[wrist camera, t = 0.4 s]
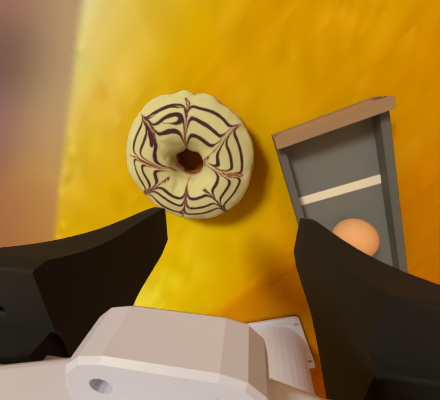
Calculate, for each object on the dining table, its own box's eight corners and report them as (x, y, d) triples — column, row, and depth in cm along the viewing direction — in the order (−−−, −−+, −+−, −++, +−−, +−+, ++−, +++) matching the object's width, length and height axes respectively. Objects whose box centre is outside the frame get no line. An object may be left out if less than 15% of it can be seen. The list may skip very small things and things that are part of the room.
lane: (398, 275, 23) (415, 295, 21) (317, 290, 25) (324, 309, 23) (374, 97, 17) (394, 95, 15) (271, 135, 19) (274, 139, 17)
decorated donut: (139, 84, 19) (114, 80, 15) (264, 102, 18) (267, 101, 15) (141, 196, 23) (122, 212, 20) (243, 213, 23) (241, 233, 19)
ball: (369, 239, 21) (391, 264, 18) (329, 248, 22) (343, 273, 19) (363, 206, 20) (386, 226, 17) (322, 217, 21) (335, 238, 17)
